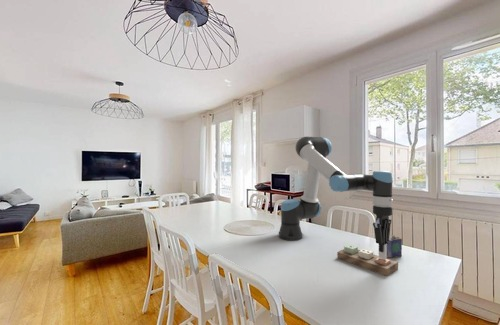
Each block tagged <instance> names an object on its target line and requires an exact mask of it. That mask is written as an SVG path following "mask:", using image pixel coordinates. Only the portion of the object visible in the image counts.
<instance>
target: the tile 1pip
mask: <svg viewBox="0 0 500 325" xmlns="http://www.w3.org/2000/svg"><path fill="white" fill-rule="evenodd" d="M343 249H344V252H347V253H350V254H355V253H357V252H358V250H359V249H358V246H355V245H352V244H347V245H345V246H344V247H343Z"/></svg>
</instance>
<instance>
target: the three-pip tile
mask: <svg viewBox="0 0 500 325" xmlns="http://www.w3.org/2000/svg"><path fill="white" fill-rule="evenodd" d="M389 259H390V258H387V259H386V260H384V259H381V258H377V259H375V262H376V263H379V264H382V265H385V266H387V265H389V264H391V260H392V259H390V260H389Z"/></svg>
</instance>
